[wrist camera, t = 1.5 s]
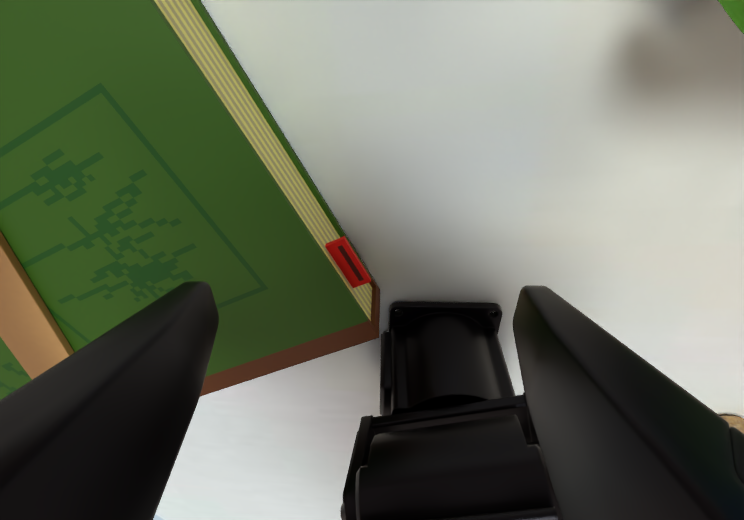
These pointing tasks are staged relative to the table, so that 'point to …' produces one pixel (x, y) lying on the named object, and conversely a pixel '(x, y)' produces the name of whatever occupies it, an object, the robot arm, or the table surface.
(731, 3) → the snack cup
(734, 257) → the table surface
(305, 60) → the table surface
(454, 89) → the table surface
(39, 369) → the ruler
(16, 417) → the robot arm
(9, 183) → the hardcover book
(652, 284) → the table surface
